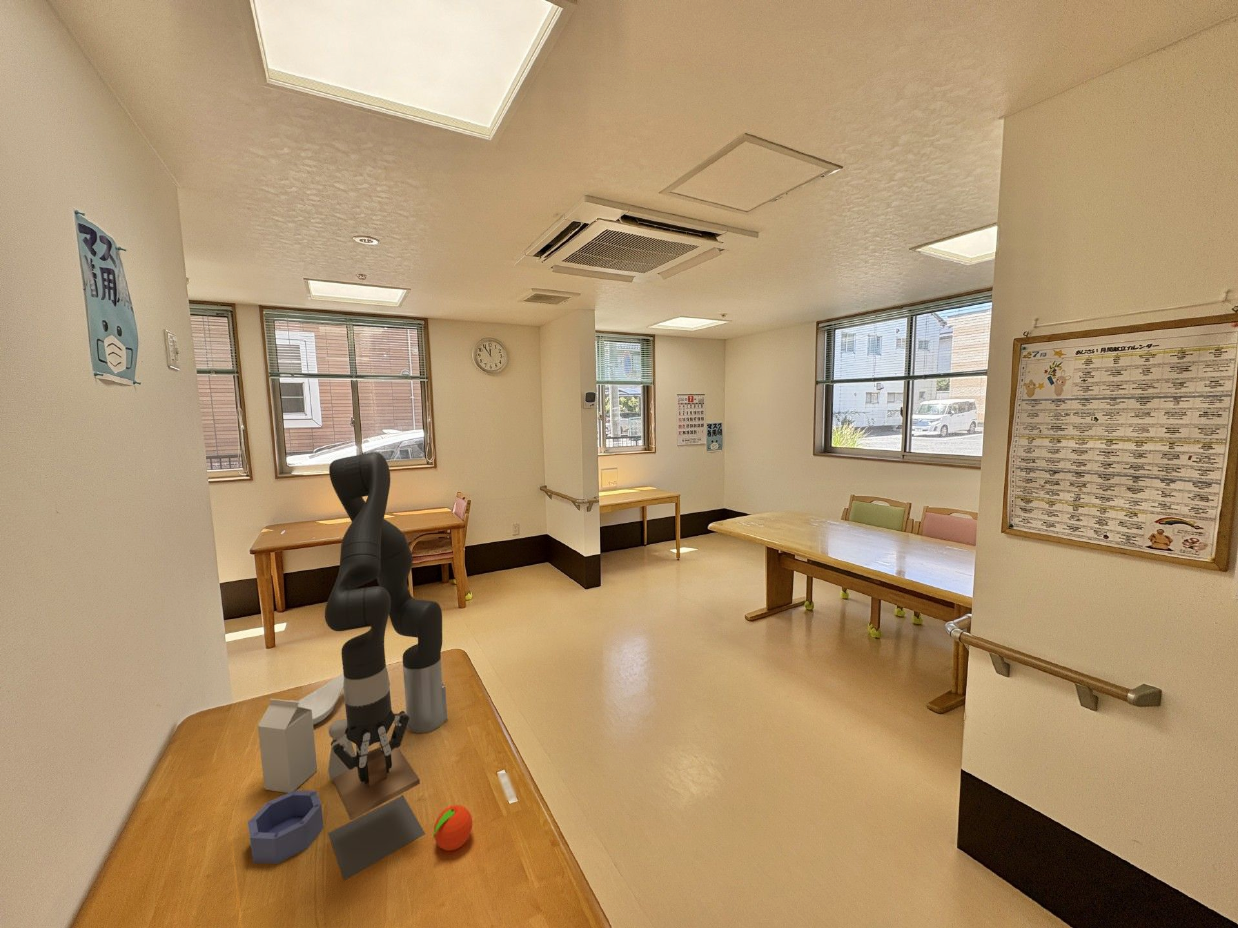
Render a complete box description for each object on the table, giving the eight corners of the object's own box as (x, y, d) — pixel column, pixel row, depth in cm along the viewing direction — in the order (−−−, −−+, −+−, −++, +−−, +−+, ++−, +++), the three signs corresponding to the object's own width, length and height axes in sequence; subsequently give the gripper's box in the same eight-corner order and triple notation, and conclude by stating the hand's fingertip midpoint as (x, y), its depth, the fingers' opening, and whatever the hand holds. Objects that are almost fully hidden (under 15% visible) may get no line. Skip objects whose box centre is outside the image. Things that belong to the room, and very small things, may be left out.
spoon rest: (306, 738, 125) (303, 712, 124) (275, 728, 129) (272, 702, 128) (382, 689, 147) (380, 666, 146) (353, 681, 151) (351, 659, 150)
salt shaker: (328, 790, 107) (323, 734, 106) (329, 773, 112) (324, 719, 111) (358, 780, 110) (353, 726, 108) (358, 764, 115) (354, 712, 113)
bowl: (315, 806, 103) (313, 781, 102) (327, 840, 94) (324, 814, 94) (249, 837, 95) (246, 811, 95) (255, 877, 87) (252, 849, 86)
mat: (403, 797, 105) (403, 794, 104) (425, 836, 95) (425, 833, 95) (328, 835, 95) (328, 832, 95) (344, 883, 86) (344, 879, 86)
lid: (398, 751, 103) (396, 725, 102) (419, 783, 94) (417, 754, 93) (333, 782, 95) (330, 753, 94) (350, 820, 86) (347, 789, 85)
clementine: (446, 871, 87) (444, 835, 87) (422, 853, 91) (419, 818, 90) (481, 838, 94) (479, 804, 93) (456, 822, 98) (454, 789, 97)
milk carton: (291, 794, 106) (283, 711, 104) (264, 789, 108) (255, 708, 105) (317, 770, 113) (310, 692, 111) (291, 766, 114) (284, 689, 112)
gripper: (399, 669, 99) (406, 748, 101) (320, 699, 90) (329, 784, 92) (412, 684, 94) (420, 767, 96) (329, 718, 84) (339, 808, 87)
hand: (375, 775), depth 94 cm, fingers closed on lid, 3 cm apart
